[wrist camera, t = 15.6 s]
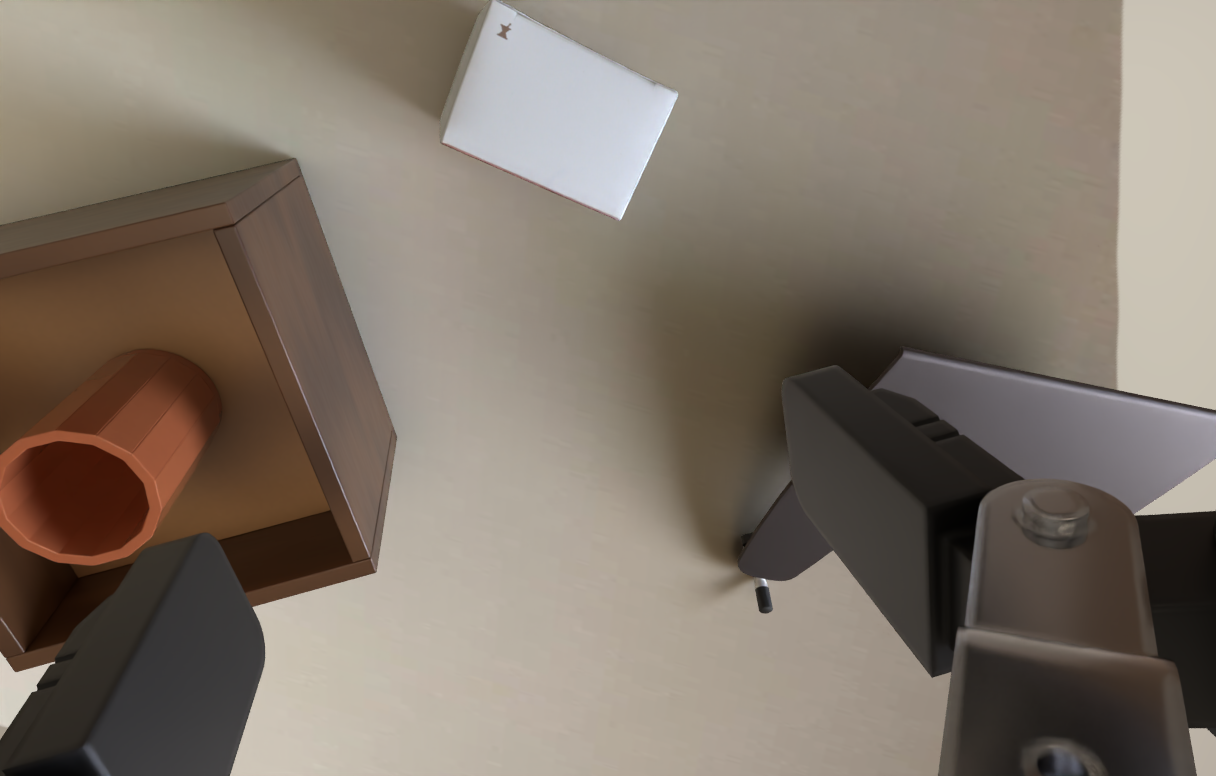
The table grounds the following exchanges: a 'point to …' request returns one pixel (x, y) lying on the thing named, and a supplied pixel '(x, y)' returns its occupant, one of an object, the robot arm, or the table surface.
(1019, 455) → the laptop tray
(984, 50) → the table surface
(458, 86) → the small box
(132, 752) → the robot arm
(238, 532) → the box
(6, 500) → the cup
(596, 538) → the table surface
